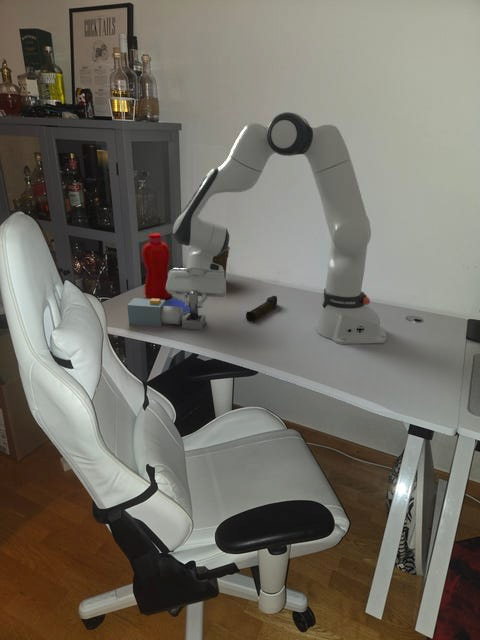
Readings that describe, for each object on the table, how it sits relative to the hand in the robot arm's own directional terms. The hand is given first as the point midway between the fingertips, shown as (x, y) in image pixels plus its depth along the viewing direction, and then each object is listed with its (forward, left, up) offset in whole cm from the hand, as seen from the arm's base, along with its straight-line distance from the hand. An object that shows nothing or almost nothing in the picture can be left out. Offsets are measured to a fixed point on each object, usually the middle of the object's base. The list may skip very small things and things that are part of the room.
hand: (193, 306), depth 134 cm
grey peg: (0, -1, -6) cm, 6 cm away
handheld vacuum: (+9, -1, -7) cm, 11 cm away
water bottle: (+20, -24, -7) cm, 32 cm away
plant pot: (+2, -43, -7) cm, 43 cm away
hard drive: (+9, -15, -8) cm, 19 cm away
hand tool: (-22, -15, -7) cm, 28 cm away
